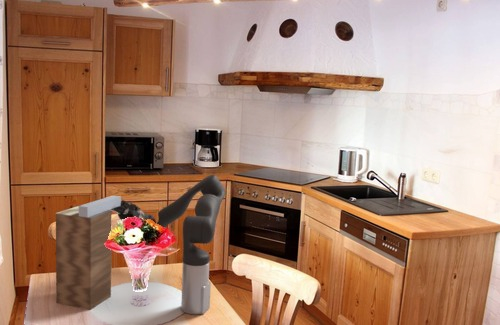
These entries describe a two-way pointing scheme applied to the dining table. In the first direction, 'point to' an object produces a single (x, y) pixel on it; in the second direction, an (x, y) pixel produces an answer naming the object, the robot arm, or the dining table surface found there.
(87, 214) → the lever
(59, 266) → the wooden block
